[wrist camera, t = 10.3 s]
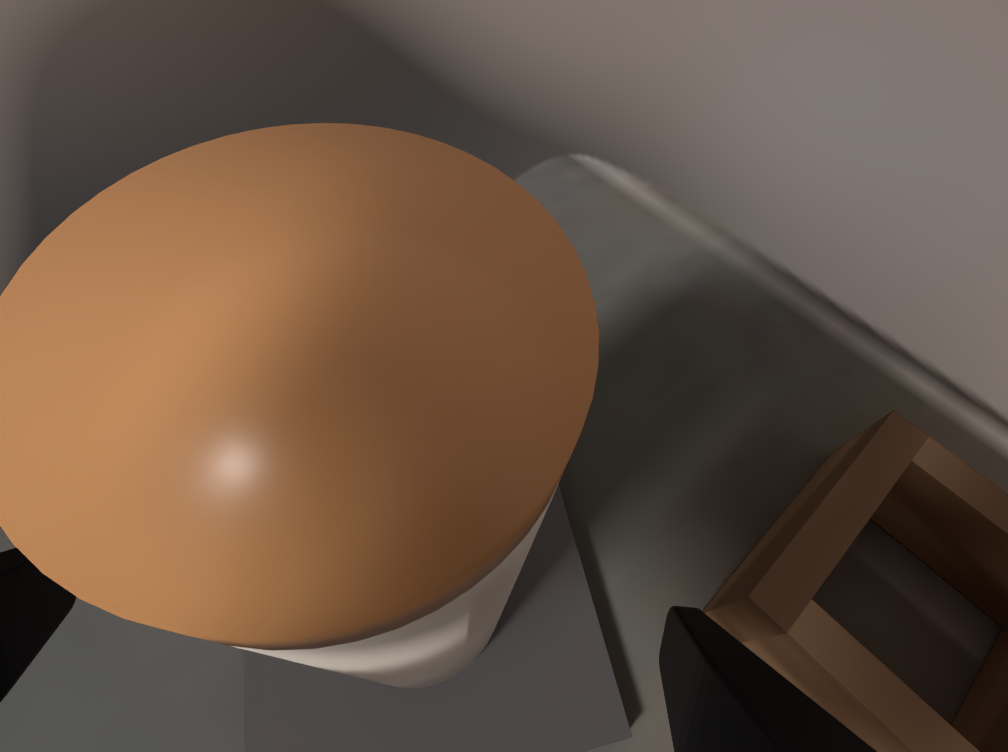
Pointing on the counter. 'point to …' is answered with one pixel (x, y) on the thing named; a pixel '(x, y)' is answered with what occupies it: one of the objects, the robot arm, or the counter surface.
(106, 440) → the plug
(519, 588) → the mat
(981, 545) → the socket block
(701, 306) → the counter surface
